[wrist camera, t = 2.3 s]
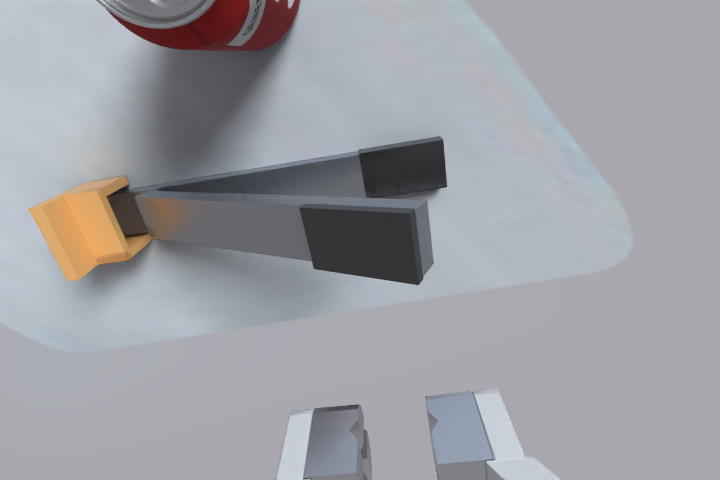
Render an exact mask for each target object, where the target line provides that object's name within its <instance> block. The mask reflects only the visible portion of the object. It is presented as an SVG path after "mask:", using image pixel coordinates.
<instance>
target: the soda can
mask: <svg viewBox="0 0 720 480" xmlns="http://www.w3.org/2000/svg"><path fill="white" fill-rule="evenodd" d="M96 1H98V2H99V3H100V4H101V5H102V6H103V7H105V8H106V9H107V10H108V12H109V13H110V14H111V15H112V16H113V17H114V18H115V19H116V20H117V21H119V22H120V23H121V24H122V25H123V26H125V27H126V28H127V29H128V30H130V31H131V32H133V33H134V34H136V35H138V36H139V37H141V38H143V39H145V40H147V41H149V42H152V43H154V44H157V45H160V46H163V47H168V48H173V49H182V50H213V51H243V52H252V51H259V50H263V49H266V48H268V47H270V46H272V45H274V44H275V43H277V42H278V41H279V40H281V39H282V38H283V37H284V36H285V35H286V33H287V32H288V31H289V30H290V28H291V27H292V25H293V23H294V21H295V19H296V16H297V13H298V10H299V5H300V0H96Z"/></svg>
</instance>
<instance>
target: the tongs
mask: <svg viewBox="0 0 720 480" xmlns="http://www.w3.org/2000/svg"><path fill="white" fill-rule="evenodd" d="M445 187H447V181H446V169H445V157H444V145H443V139H442V138H441V137H440V136H439V137H433V138H427V139H421V140H415V141H409V142H403V143H397V144H391V145H385V146H379V147H373V148H367V149H361V150H359V151H358V152H351V153H345V154H339V155H333V156H327V157H321V158H315V159H309V160H303V161H297V162H291V163H285V164H279V165H273V166H267V167H261V168H255V169H249V170H243V171H236V172H230V173H224V174H218V175H212V176H206V177H200V178H194V179H188V180H182V181H176V182H170V183H164V184H158V185H152V186H146V187H140V188H134V189H127V190H121V191H115V192H113V193H111V194H109V195H108V196H106V197H107V199H108V201H109V204H110V206H111V208H112V210H113V213H114V215H115V217H116V219H117V222H118V224H119V226H120V228H121V230H122V233H123V235H124V236H126V235H132V234H139V233H145V232H149V231H148V229H147V226H146V224H145V222H144V219H143V217H142V215H141V212H140V210H139V207H138V205H137V203H136V200H135V198H134V197H136V196H138V195H141V194H144V193H146V192H149V191H171V192H202V193H232V194H263V195H293V196H323V197H354V198H380V197H386V196H393V195H399V194H406V193H412V192H419V191H425V190H432V189H438V188H445Z"/></svg>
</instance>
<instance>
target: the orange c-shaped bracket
mask: <svg viewBox="0 0 720 480" xmlns="http://www.w3.org/2000/svg"><path fill="white" fill-rule="evenodd" d="M126 185H128V181H127V179H126V177H125V176H122V177H116V178H110V179H105V180H99V181H93V182H87V183H84V184H82V185H79V186H77V187H75V188H73V189H70V190H68V191H66V192H64V193H62V194H59V195H57V196H55V197H53V198H50V199H48V200H46V201H44V202H42V203H39V204H37V205H35V206H33V207H31V208H28V209H29V211H30V213H31V215H32V216H33V218H34V220H35V222H36V224H37V226H38V227H39V229H40V231H41V233H42V235H43V237H44V239H45V240H46V242H47V244H48V246H49V248H50V250H51V252H52V253H53V255H54V257H55V259H56V261H57V263H58V264H59V266H60V268H61V270H62V272H63V274H64V276H65V277H66V279H67V281H72V280H79V279H80V278H82V277H83V276H84V275H86V274H87V273H88V272H89V271H91V270H92V269H93V268H95V267H96V266H97V265H100V264H106V263H113V262H120V261H126V260H129V259H130V258H132V257H133V256H134V255H135V254H136V253H137V252H139V251H140V250H141V249H142V248H143V247H144V246H146V245H147V244H148V243H149V242H150V241H151V240H152V239H151V236H150V234H149V233H144V234H138V235H131V236H125V237H124V235H123V233H122V230H121V228H120V226H119V224H118V222H117V219H116V217H115V215H114V213H113V210H112V208H111V206H110V204H109V201H108V199H107V197H106V196H108V195H109V194H111V193H113V192H115V191H117V190H119V189H121V188H122V187H124V186H126Z"/></svg>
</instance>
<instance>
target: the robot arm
mask: <svg viewBox="0 0 720 480" xmlns="http://www.w3.org/2000/svg"><path fill="white" fill-rule="evenodd" d="M425 399H426V407H427V414H428V419H429V428H430V435H431V442H432V449H433V455H434V461H435V467H436V472H437V478H438V480H561V479H559V478H558V477H557V476H556V475H555V474H553V473H552V472H551V471H550V470H548V469H547V468H546V467H545V466H543V465H542V464H541V463H540V462H539V461H538V460H536V459H535V458H534V457H525V456H524V454H523V451H522V449H521V446H520V444H519V441H518V439H517V436H516V434H515V431H514V429H513V426H512V424H511V421H510V418H509V416H508V413H507V411H506V408H505V406H504V404H503V401H502V398H501V396H500V394H499V391H498V390H497V389H496V388H490V389H482V390H474V391H472V392H471V391H465V392H457V393H449V394H441V395H433V396H425ZM363 427H364V416H363V412H362V409H361V406H360V405H349V406H337V407H325V408H315V409H307V410H296V411H292V413H291V415H290V416H289V419H288V424H287V429H286V433H285V438H284V442H283V447H282V452H281V456H280V461H279V465H278V470H277V474H276V479H275V480H371V478H372V465H371V452H370V445H369V438H368V434H367V431H366V430H365V429H364V428H363Z"/></svg>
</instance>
